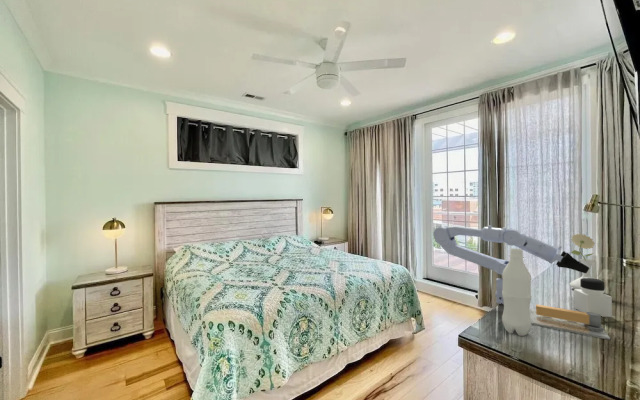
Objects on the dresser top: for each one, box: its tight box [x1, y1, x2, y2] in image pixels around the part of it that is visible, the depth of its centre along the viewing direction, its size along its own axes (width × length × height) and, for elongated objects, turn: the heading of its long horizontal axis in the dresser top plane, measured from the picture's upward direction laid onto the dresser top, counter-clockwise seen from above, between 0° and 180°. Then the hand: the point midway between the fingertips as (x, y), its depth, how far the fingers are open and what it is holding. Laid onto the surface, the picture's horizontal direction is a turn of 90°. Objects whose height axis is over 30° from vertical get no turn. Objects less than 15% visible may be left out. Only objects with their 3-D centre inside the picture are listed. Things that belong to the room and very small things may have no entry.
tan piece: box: [535, 303, 602, 327], centre depth 88 cm, size 16×3×3 cm, turn 56°
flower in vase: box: [569, 233, 606, 293], centre depth 122 cm, size 13×11×25 cm
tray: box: [529, 308, 611, 341], centre depth 89 cm, size 18×14×1 cm
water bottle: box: [501, 247, 532, 337], centre depth 83 cm, size 7×7×25 cm
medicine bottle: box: [573, 277, 613, 318], centre depth 97 cm, size 7×7×12 cm
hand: (585, 269), depth 93 cm, fingers open, 7 cm apart
